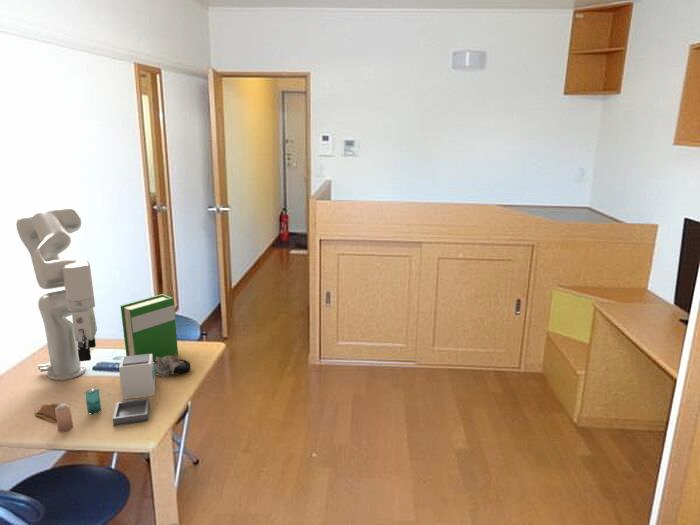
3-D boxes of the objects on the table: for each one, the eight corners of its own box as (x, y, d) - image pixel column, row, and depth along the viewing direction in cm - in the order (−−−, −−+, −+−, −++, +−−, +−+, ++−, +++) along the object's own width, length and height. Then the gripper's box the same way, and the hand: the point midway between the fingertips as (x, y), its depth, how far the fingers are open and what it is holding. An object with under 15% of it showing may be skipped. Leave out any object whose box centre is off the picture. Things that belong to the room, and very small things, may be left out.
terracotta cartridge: (56, 432, 159) (53, 410, 157) (59, 425, 162) (56, 403, 160) (71, 430, 160) (68, 408, 158) (74, 423, 164) (70, 401, 162)
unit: (121, 399, 177) (117, 365, 174) (124, 388, 185) (120, 355, 181) (155, 395, 180) (151, 362, 177) (156, 384, 188) (153, 352, 184)
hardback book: (137, 369, 198) (130, 310, 192) (127, 363, 203) (120, 305, 196) (178, 353, 212) (173, 297, 205) (167, 348, 216) (162, 293, 210)
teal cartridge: (86, 414, 168) (83, 393, 166) (88, 408, 172) (86, 387, 170) (100, 413, 169) (97, 392, 167) (102, 406, 173) (99, 386, 171)
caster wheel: (192, 374, 200) (177, 383, 190) (167, 365, 203) (151, 373, 193) (196, 358, 199) (181, 366, 189) (170, 349, 201) (154, 356, 192)
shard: (57, 425, 163) (56, 419, 163) (29, 428, 161) (28, 423, 161) (65, 406, 173) (64, 402, 173) (39, 410, 171) (38, 405, 171)
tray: (113, 426, 162) (112, 418, 162) (117, 409, 172) (116, 402, 171) (147, 421, 165) (147, 414, 164) (149, 404, 174) (149, 398, 174)
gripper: (89, 311, 154) (96, 364, 158) (98, 292, 170) (104, 341, 174) (61, 314, 152) (69, 367, 156) (72, 294, 167) (79, 344, 172)
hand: (87, 353), depth 165 cm, fingers open, 9 cm apart
